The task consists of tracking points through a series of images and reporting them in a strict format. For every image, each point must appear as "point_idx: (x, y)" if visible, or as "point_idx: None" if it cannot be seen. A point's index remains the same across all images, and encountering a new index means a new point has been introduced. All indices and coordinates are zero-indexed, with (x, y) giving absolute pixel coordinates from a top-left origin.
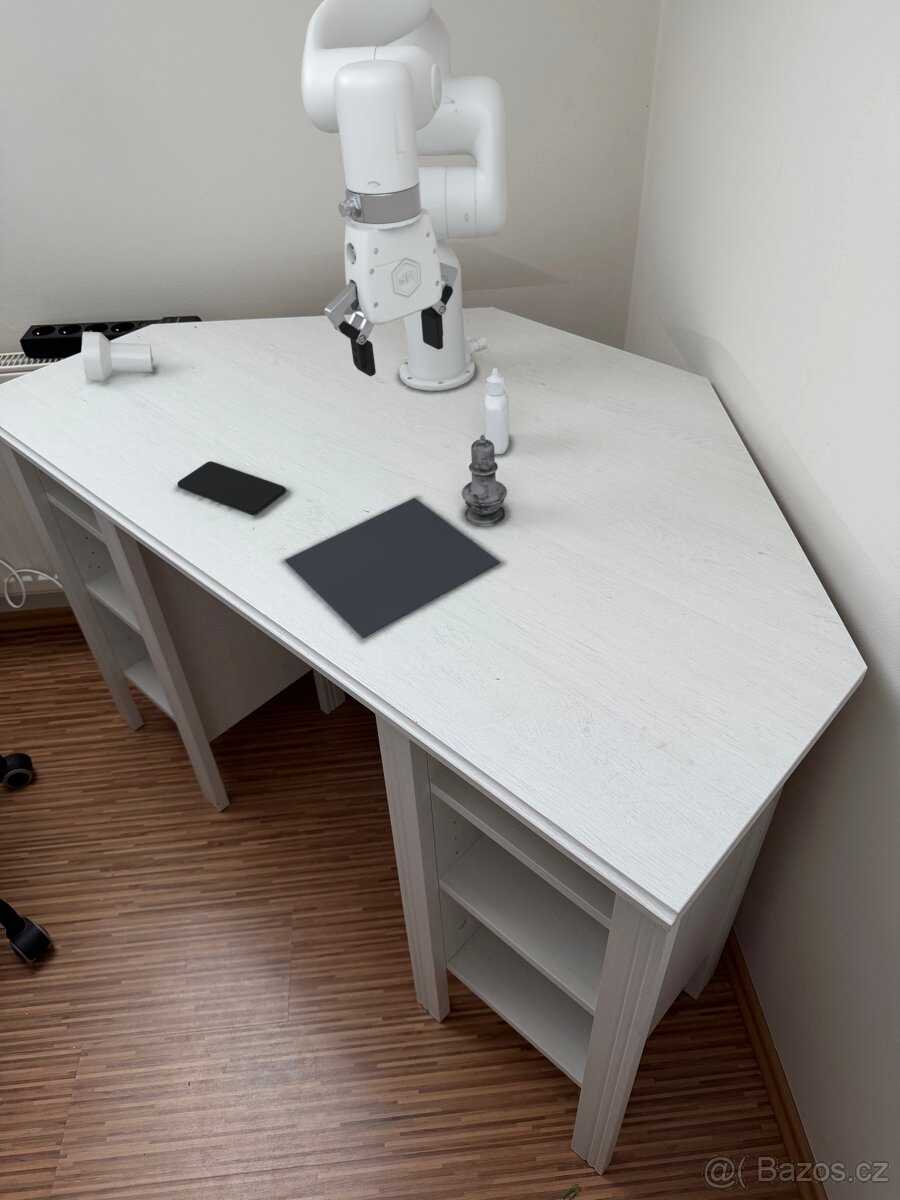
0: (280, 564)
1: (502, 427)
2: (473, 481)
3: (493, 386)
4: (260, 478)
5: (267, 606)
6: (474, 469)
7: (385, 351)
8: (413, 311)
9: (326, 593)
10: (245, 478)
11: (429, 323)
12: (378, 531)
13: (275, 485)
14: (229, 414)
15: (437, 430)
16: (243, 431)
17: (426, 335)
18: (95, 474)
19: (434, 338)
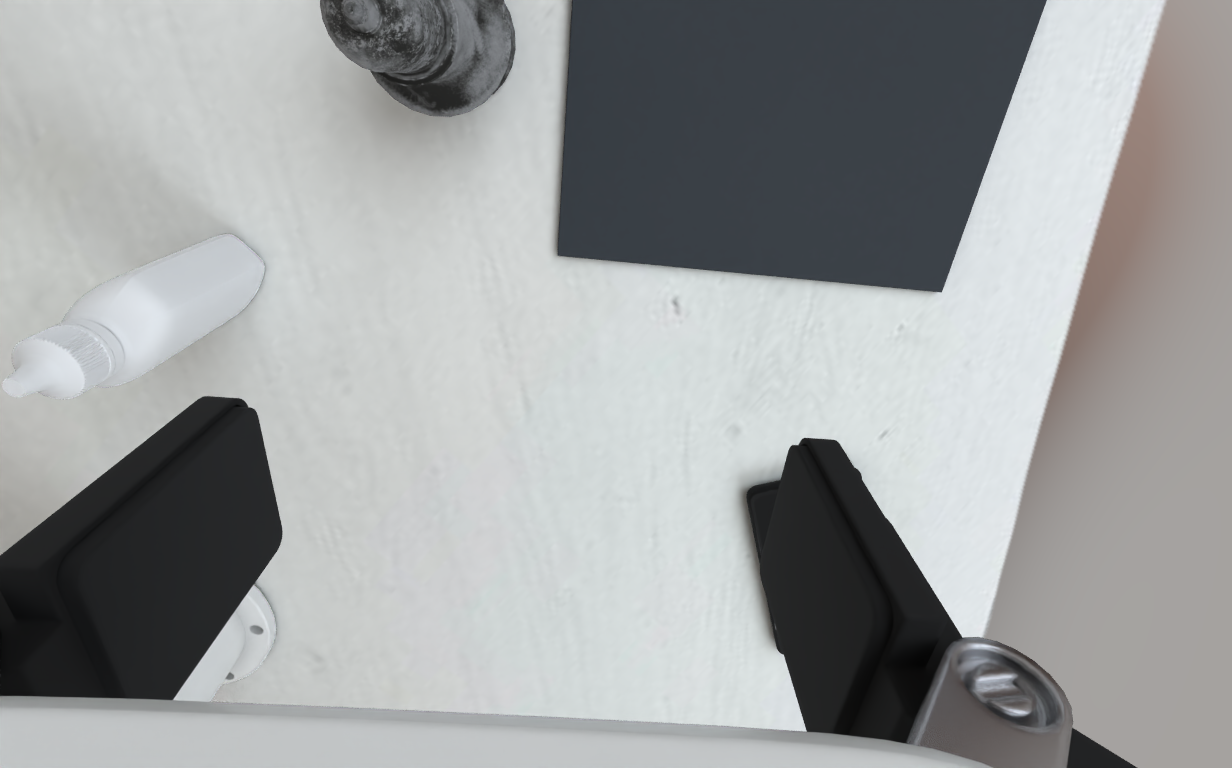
0: (952, 290)
1: (172, 255)
2: (459, 42)
3: (82, 347)
4: (761, 552)
5: (1093, 183)
6: (446, 27)
7: None
8: (338, 729)
9: (996, 100)
10: None
11: (161, 593)
12: (722, 210)
13: (759, 513)
14: None
15: (320, 441)
16: (655, 690)
17: (244, 547)
18: None
19: (218, 473)
